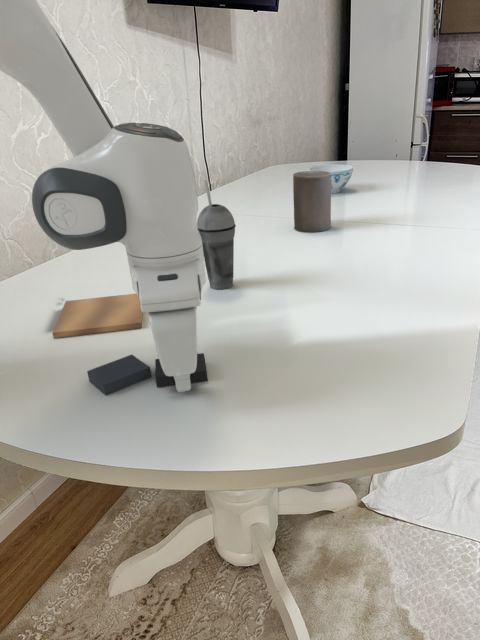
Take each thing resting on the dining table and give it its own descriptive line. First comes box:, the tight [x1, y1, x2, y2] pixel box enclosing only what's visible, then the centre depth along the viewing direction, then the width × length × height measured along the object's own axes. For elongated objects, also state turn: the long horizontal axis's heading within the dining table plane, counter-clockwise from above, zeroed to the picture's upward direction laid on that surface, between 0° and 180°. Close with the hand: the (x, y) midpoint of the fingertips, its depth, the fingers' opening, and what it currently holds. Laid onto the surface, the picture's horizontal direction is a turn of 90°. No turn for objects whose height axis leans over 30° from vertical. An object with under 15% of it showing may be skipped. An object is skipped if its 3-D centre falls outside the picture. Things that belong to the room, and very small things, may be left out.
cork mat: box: [52, 292, 143, 339], centre depth 91 cm, size 14×14×1 cm
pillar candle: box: [292, 168, 332, 233], centre depth 134 cm, size 10×10×15 cm
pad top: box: [86, 354, 152, 397], centre depth 69 cm, size 6×5×3 cm
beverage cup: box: [197, 179, 237, 291], centre depth 98 cm, size 7×7×20 cm
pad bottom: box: [154, 352, 209, 389], centre depth 69 cm, size 6×5×3 cm
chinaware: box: [307, 163, 354, 194], centre depth 177 cm, size 15×15×8 cm
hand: (182, 371), depth 69 cm, fingers open, 8 cm apart
